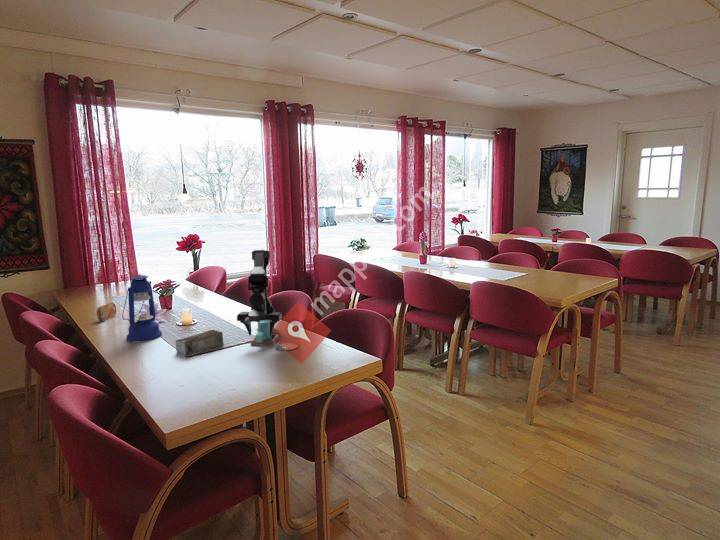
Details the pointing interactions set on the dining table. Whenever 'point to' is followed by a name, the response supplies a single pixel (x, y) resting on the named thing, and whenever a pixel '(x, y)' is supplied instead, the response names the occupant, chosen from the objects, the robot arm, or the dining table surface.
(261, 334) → the jug
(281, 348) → the coaster
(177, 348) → the grey brown rectangular block
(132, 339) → the lantern
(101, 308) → the tin
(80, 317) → the dining table surface
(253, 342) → the holder
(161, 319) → the water lily
